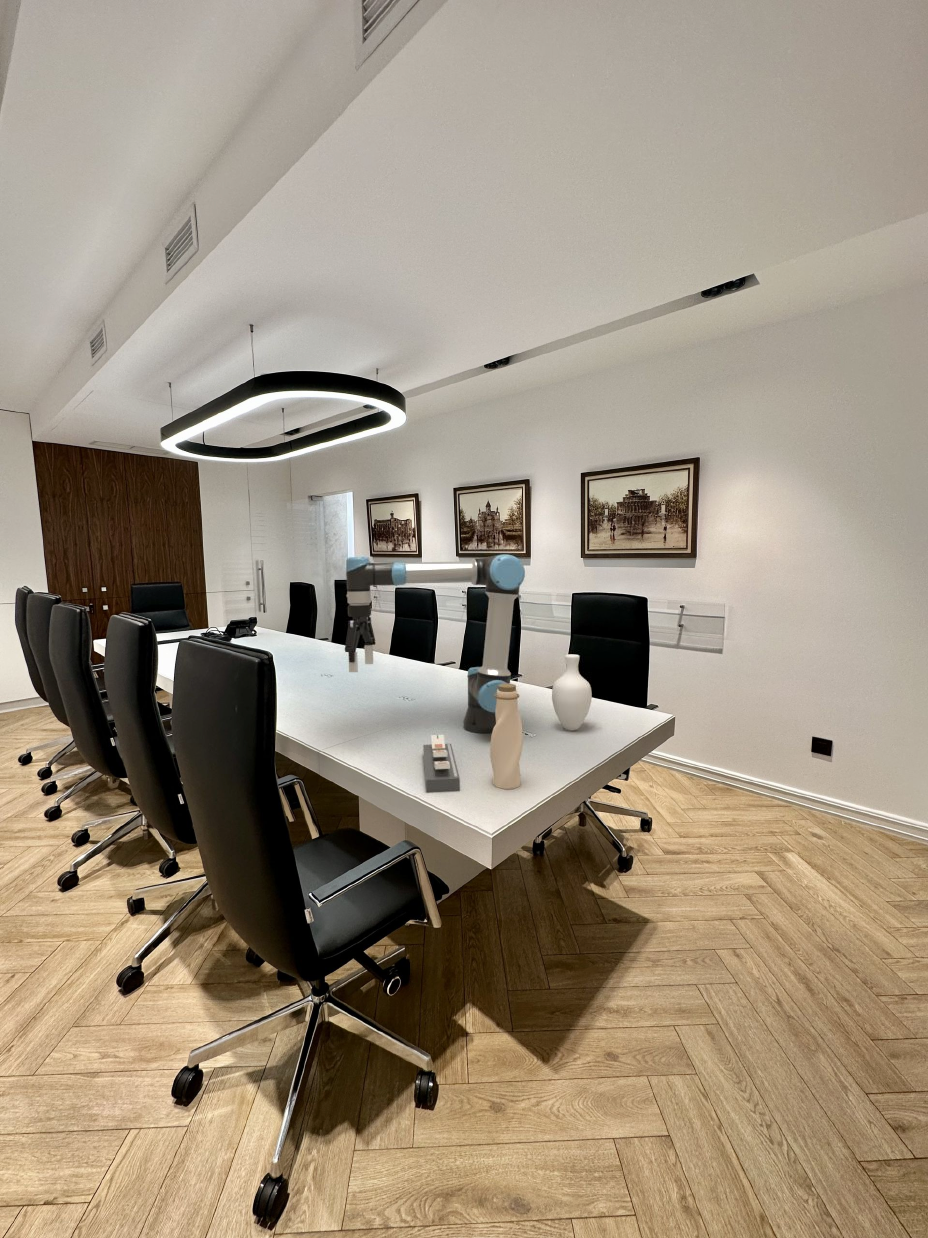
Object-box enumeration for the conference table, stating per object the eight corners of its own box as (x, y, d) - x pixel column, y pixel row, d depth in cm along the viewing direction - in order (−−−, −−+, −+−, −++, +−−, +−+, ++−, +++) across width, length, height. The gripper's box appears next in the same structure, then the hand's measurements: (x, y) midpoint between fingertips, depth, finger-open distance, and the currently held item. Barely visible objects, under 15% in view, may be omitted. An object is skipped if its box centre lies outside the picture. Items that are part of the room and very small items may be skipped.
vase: (585, 723, 202) (586, 651, 199) (595, 735, 187) (597, 658, 184) (548, 724, 201) (549, 652, 198) (555, 736, 187) (556, 658, 184)
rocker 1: (443, 738, 167) (443, 734, 167) (445, 751, 161) (445, 747, 160) (431, 739, 167) (431, 735, 166) (432, 752, 160) (432, 748, 160)
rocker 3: (448, 766, 149) (447, 760, 150) (450, 768, 142) (449, 762, 143) (434, 766, 149) (434, 761, 149) (435, 769, 142) (435, 763, 142)
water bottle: (487, 775, 152) (487, 681, 149) (518, 774, 153) (518, 680, 150) (492, 790, 142) (492, 689, 139) (525, 789, 143) (525, 688, 140)
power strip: (449, 745, 178) (448, 734, 178) (459, 790, 142) (459, 777, 141) (422, 746, 177) (422, 735, 177) (426, 792, 141) (426, 779, 140)
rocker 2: (445, 754, 158) (445, 749, 158) (447, 756, 151) (447, 751, 152) (432, 755, 158) (432, 750, 158) (433, 757, 151) (433, 751, 151)
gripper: (363, 601, 184) (365, 660, 186) (331, 607, 160) (334, 675, 162) (383, 601, 183) (385, 661, 185) (354, 607, 158) (357, 676, 161)
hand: (361, 668), depth 173 cm, fingers open, 13 cm apart
